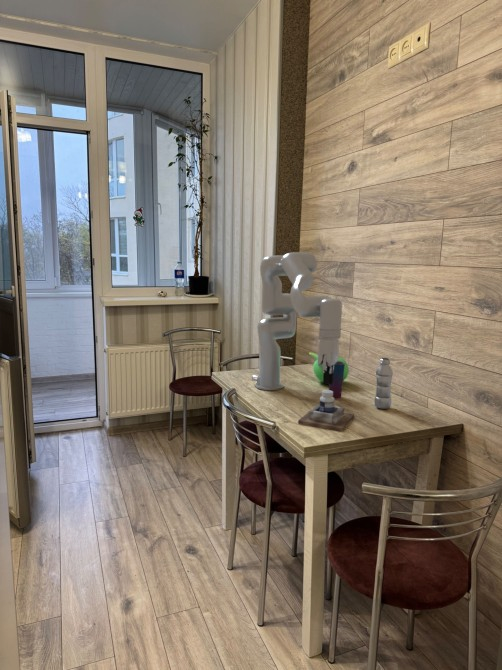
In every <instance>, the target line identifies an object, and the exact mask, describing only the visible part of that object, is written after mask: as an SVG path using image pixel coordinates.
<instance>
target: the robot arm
mask: <svg viewBox="0 0 502 670" xmlns="http://www.w3.org/2000/svg"><path fill="white" fill-rule="evenodd" d="M317 267H318V261H317V258H316V256H315V255H314V254H313V253H311V252H302V251H301V252H298V251H297V252H295V251H294V252H293V251H292V252H288V253H285V254H283V255H267V256H266V257H264V258H263V259H262V261H261V262H260V265H259V273H260V277H261V281H262V289H261V290H262V291H261V310H262V313H263V314H264V315H266V316H283V317H268V318H267V317H266V318H263V319H261V320H260V321H259V322H258V324H257V325H256V326H257V327H256V328H257V336H258V342H259V344H258V345H259V346H258V347H259V353H258V354H259V357H258V359H259V362H258V363H259V367H258V369H259V371H258V372H259V373H258V375H254V374H253V375H252V376H251V380H252V381H253V382H256V383H255V387H256V388H257V389H259V390H261V391H262V390H263V391H278V390H279V391H280V390H281V389H283V388H284V383H282V382H281V354H282V353H281V347H280V345H279V344H278V342H277V340H278V339H279V340H280V339H290V338H292V337H294V335H295V334H296V331H297V317H298V316H297V315H299V316H300V317H302V318H305V319H306V318H319V326H318V327H319V331H318V332H319V334H318V337H319V338H320V339H319V342H318V343H319V344H318V353H317V355H318V365H319V366H320V365H322V364H323V367H322V370H323V373H324V374H323V382H322V383H323V384H324V385H329V384H332V383H333V373H332V372H334V365H335V363H336V362H337V361H338V355H339V354H340V353H339V350H340V348H339V346H340V345H339V339H341V338H342V337H341V335H342V334H341V333H342V313H343V312H342V311H343V310H342V309H343V308H342V307H343V305H342V304H343V303H342V301H341V299H339V298H332V297H330V296H326V295H325V296H324V295H321V296H318V295H314V296H305V295H304V294H303V292H304V291H306V290H307V289H309V288H310V287H311V286H312V285H313V283H314V281H315V280H314V275H313V273H314V272H316V269H317ZM283 276H285V277H286V276H287V277H288V279H289V281H290V283H291V284H292V286H291V287H290V288H291V289H290V293H288V292H287V293H284V292H282V291H283V283H282V280H281V279H280V277H283ZM339 356H340V355H339Z"/></svg>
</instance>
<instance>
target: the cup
mask: <svg viewBox="0 0 502 670" xmlns="http://www.w3.org/2000/svg"><path fill="white" fill-rule="evenodd" d="M344 366H345V363H344V362H342V361H337V362H336V363H335V365H334V372H332V373H333V383H332V384H328V390H330V391H333V396H332V397H334V399H335V400H336V399H341V398H342V394H343V393H342V392H343V384H344V383H343V382H344V381H343V375H344Z"/></svg>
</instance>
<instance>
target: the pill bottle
mask: <svg viewBox="0 0 502 670" xmlns="http://www.w3.org/2000/svg"><path fill="white" fill-rule="evenodd" d="M332 396H333V391H330V390H329V389H324V390H322V391H321V396H320V397H319V404H320V408H319V411H320V412H325V413H331V414H334V406H336V405H335V404H336V403H335V400H336V399H334V397H332Z"/></svg>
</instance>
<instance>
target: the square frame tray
mask: <svg viewBox="0 0 502 670" xmlns="http://www.w3.org/2000/svg"><path fill="white" fill-rule="evenodd" d="M319 408H320V403H317V404H316V405H315V406H314V407H313V408H312V409H310V410H309V411H308V412H307V413H305V414H304V415H302V417H300V418H299V419H298V421H297V423H298V424H299V425H305V426H312V427H315V428H319V429H320V428H321V429H325V430H331V431H336V432H343V431H344V429H345V428H346V427H347V426H348V425H349V424H350V423H351V421H352V420H353V419H354V418H355V414H354V413H348V412H345V407H343V406H337V405H334V414H331V413H325V412H320V411H319Z"/></svg>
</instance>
